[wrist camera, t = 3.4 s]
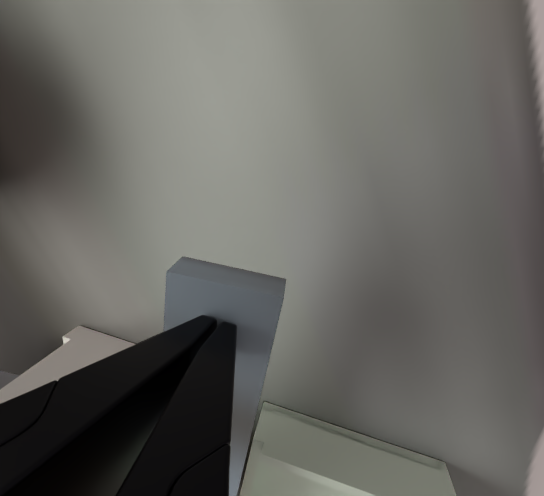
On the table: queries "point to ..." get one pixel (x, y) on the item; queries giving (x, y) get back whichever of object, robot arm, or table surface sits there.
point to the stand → (65, 360)
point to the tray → (333, 462)
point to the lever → (250, 333)
